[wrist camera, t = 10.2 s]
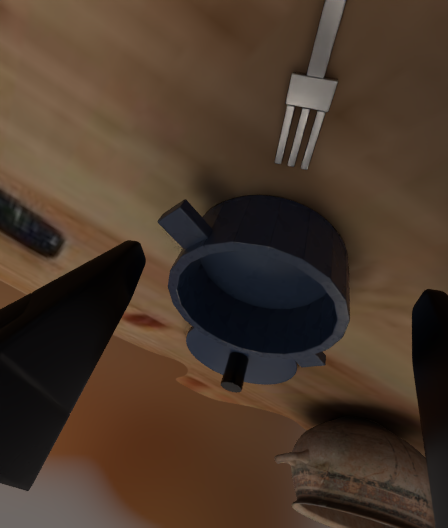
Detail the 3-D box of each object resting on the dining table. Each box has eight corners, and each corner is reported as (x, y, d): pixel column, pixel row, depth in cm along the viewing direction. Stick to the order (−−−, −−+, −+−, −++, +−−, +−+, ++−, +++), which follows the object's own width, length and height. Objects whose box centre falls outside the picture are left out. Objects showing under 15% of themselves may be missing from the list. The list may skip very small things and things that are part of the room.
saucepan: (269, 124, 18) (249, 166, 14) (387, 310, 26) (395, 368, 22) (142, 214, 26) (109, 255, 22) (262, 333, 34) (252, 377, 30)
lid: (253, 304, 31) (241, 347, 27) (319, 373, 37) (316, 415, 33) (168, 327, 40) (151, 361, 36) (233, 379, 46) (224, 412, 42)
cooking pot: (262, 409, 51) (246, 493, 43) (315, 374, 37) (307, 489, 29) (390, 462, 52) (399, 556, 43) (492, 447, 38) (533, 582, 29)
